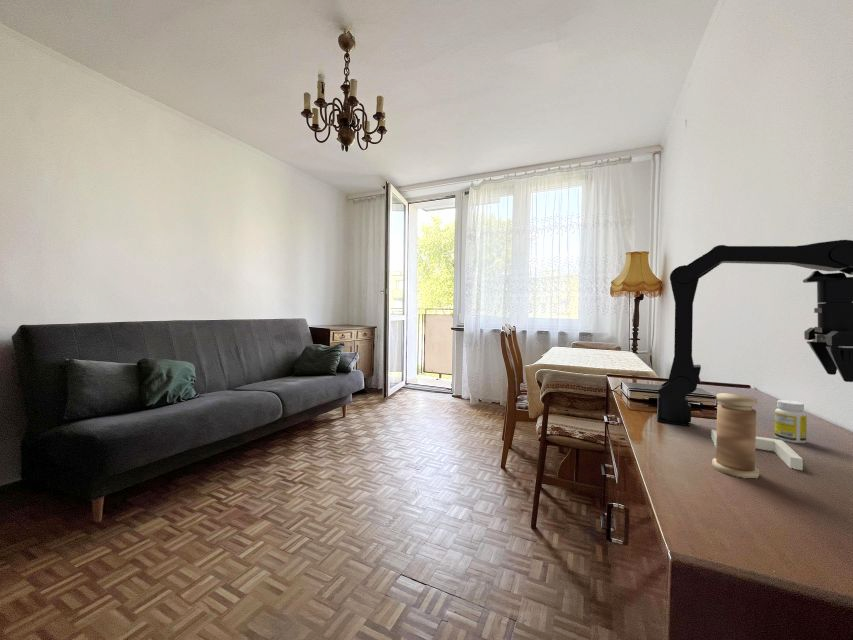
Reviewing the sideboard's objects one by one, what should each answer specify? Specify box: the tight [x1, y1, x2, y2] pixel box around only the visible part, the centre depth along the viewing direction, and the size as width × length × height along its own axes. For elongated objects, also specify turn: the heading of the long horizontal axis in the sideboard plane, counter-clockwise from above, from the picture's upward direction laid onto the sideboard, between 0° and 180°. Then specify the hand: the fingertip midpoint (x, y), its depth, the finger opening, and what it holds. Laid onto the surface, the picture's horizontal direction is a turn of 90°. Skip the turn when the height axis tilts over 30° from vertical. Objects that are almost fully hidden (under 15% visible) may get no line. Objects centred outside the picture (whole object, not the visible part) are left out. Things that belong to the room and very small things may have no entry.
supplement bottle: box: [774, 399, 808, 444], centre depth 74 cm, size 5×5×8 cm
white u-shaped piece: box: [710, 429, 804, 471], centre depth 66 cm, size 11×11×2 cm
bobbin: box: [711, 392, 760, 479], centre depth 58 cm, size 6×6×13 cm
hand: (839, 377), depth 69 cm, fingers open, 9 cm apart
